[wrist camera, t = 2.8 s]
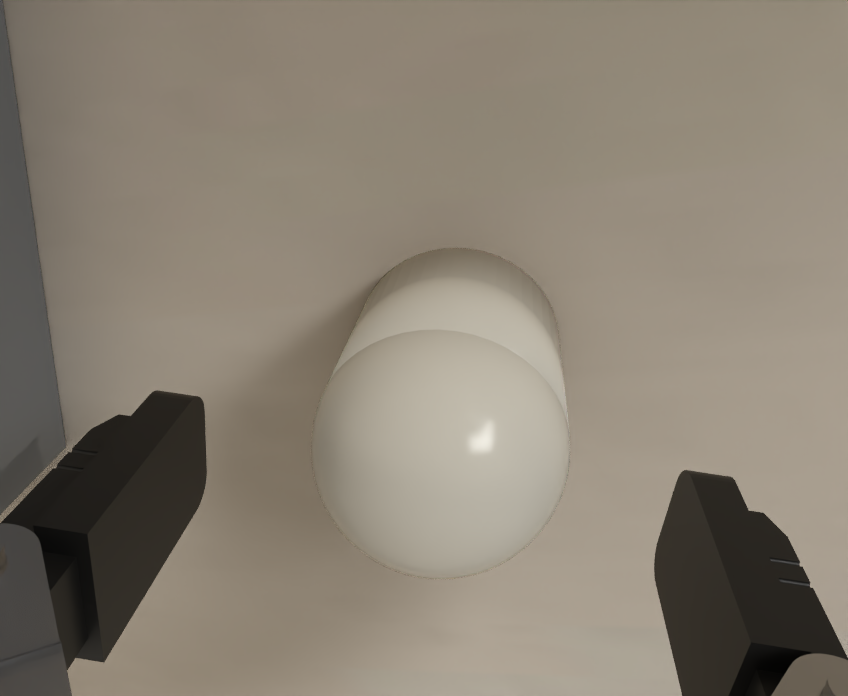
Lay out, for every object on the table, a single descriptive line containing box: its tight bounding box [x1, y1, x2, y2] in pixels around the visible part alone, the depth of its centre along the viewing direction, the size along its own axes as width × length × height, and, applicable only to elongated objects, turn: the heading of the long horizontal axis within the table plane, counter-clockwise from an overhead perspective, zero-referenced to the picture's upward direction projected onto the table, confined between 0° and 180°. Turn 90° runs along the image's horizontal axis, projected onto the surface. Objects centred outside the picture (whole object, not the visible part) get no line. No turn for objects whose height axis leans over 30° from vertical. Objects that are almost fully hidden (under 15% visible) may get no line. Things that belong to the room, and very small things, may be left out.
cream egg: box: [311, 248, 570, 579], centre depth 13 cm, size 4×4×6 cm
